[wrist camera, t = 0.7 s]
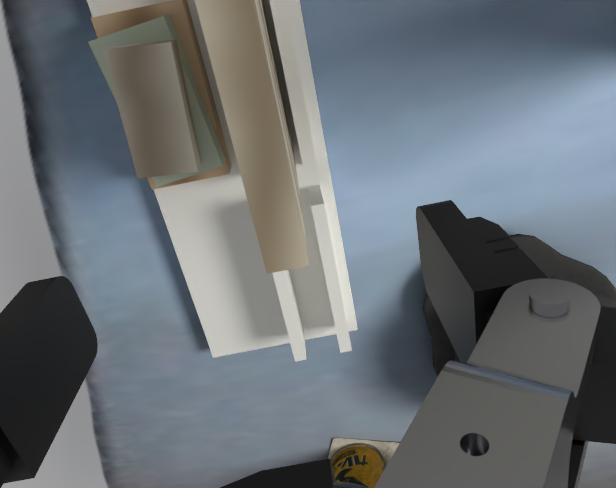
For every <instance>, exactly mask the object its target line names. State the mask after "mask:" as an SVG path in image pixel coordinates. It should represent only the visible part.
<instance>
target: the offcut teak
mask: <svg viewBox="0 0 616 488" xmlns="http://www.w3.org/2000/svg"><path fill="white" fill-rule="evenodd" d="M166 15H170V18H171V20H172V23H173V25H174V28H175V30H176V33H177V35H178V38H179V41H180V43H181V46H182V48H183V51H184V53H185V56H186V58H187V61H188V64H189V66H190V69H191V71H192V74H193V76H194V79H195V82H196V84H197V87H198V89H199V92H200V94H201V97H202V99H203V102H204V105H205V107H206V110H207V112H208V115H209V117H210V120H211V122H212V125H213V128H214V130H215V133H216V135H217V138H218V140H219V143H220V145H221V148H222V151H223V153H224V156H225V160H224V164H223V166H221V167H218V168H215V169H212V170H209V171H206V172H202V173H199V174H196V175H193V176H190V177H186V178H183V179H180V180H177V181H174V182H171V183H167V184H164V185H161V186H158V187H156V185H155V183H154V181H153V179H152V177H148V181H149V184H150V186H151V189H152V190H153V189H158V188H163V187H168V186H173V185H178V184H183V183H188V182H193V181H198V180H203V179H207V178H212V177H217V176H222V175H227V174H230V170H231V166H232V165H231V162H230V158H229V154H228V151H227V147H226V143H225V140H224V136H223V132H222V128H221V125H220V121H219V117H218V114H217V110H216V106H215V103H214V99H213V95H212V92H211V88H210V84H209V80H208V77H207V73H206V69H205V66H204V62H203V58H202V55H201V51H200V47H199V43H198V40H197V36H196V32H195V29H194V25H193V21H192V18H191V14H190V10H189V7H188V3H187V0H172V1H167V2H162V3H158V4H153V5H148V6H144V7H139V8H134V9H129V10H125V11H120V12H115V13H111V14H106V15H101V16H97V17H92V18H91V21H92V23H93V26H94V29H95V32H96V35H97V38H100V37H103V36H106V35H109V34H112V33H115V32H118V31H121V30H124V29H127V28H130V27H133V26H136V25H139V24H141V23H144V22H147V21H150V20H153V19H156V18H159V17H162V16H166Z"/></svg>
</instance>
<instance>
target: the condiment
mask: <svg viewBox="0 0 616 488" xmlns="http://www.w3.org/2000/svg"><path fill="white" fill-rule="evenodd" d="M398 445H399V443H396V442H379V441H371V440H357V439H343V438H335V439H333V440H332V444H331V448H330V452H329V456H328V459H330V460H331V464H332V468H333V472H334V476H335V480H336V481H337V482H348V483H353V484H358V485H363V486H367V487H370V488H374V487H375V485H376V483H377V482H378V480H379V478H380V477H381V475H382V473H383V471H384V470H385V468H386V466H387V464H388V463H389V461H390V459H391V457H392V456H393V454H394V452H395V450H396V449H397V447H398ZM381 452H383V454H382V453H381ZM384 454H386V455H384Z"/></svg>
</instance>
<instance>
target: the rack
mask: <svg viewBox="0 0 616 488" xmlns="http://www.w3.org/2000/svg"><path fill="white" fill-rule="evenodd" d="M167 1H172V0H87V3H88V6H89V8H90V11H91V14H92V17H97V16H101V15H106V14H111V13H115V12H120V11H125V10H129V9H134V8H139V7H144V6H148V5H153V4H158V3H162V2H167ZM262 1H263V6H264V11H265V16H266V20H267V25H268V30H269V35H270V40H271V44H272V49H273V54H274V59H275V64H276V69H277V73H278V78H279V83H280V88H281V93H282V97H283V102H284V107H285V112H286V117H287V121H288V126H289V131H290V136H291V141H292V146H293V150H294V156H295V164H296V171H297V178H298V185H299V193H300V200H301V207H302V215H303V222H304V229H305V237H306V244H307V251H308V258H309V266H305V267H300V268H295V269H289V270H284V271H279V272H274V273H269V274H267V272H266V269H265V265H264V261H263V257H262V253H261V250H260V246H259V242H258V238H257V234H256V231H255V227H254V223H253V219H252V216H251V212H250V208H249V204H248V200H247V197H246V193H245V189H244V185H243V181H242V178H241V174H240V170H239V166H238V163H237V159H236V155H235V151H234V147H233V144H232V140H231V136H230V132H229V128H228V125H227V121H226V117H225V113H224V110H223V106H222V102H221V98H220V94H219V91H218V87H217V83H216V79H215V75H214V72H213V68H212V64H211V60H210V57H209V53H208V49H207V45H206V41H205V38H204V34H203V30H202V26H201V22H200V19H199V15H198V11H197V7H196V3H195V0H187V3H188V7H189V10H190V14H191V18H192V21H193V25H194V29H195V32H196V36H197V40H198V43H199V47H200V51H201V55H202V58H203V62H204V66H205V69H206V73H207V77H208V80H209V84H210V88H211V92H212V95H213V99H214V103H215V106H216V110H217V114H218V117H219V121H220V125H221V128H222V132H223V136H224V140H225V143H226V147H227V151H228V154H229V158H230V162H231V165H232V166H231V170H230V174H227V175H222V176H217V177H212V178H207V179H203V180H198V181H193V182H188V183H183V184H178V185H173V186H168V187H163V188H158V189H154V192H155V195H156V198H157V200H158V203H159V206H160V209H161V212H162V215H163V217H164V220H165V223H166V226H167V229H168V232H169V234H170V237H171V240H172V243H173V246H174V248H175V251H176V254H177V257H178V260H179V263H180V265H181V268H182V271H183V274H184V277H185V280H186V282H187V285H188V288H189V291H190V294H191V297H192V299H193V302H194V305H195V308H196V311H197V313H198V316H199V319H200V322H201V325H202V328H203V330H204V333H205V336H206V339H207V342H208V345H209V347H210V350H211V353H212V356H213V358H214V357H219V356H224V355H229V354H235V353H240V352H245V351H250V350H255V349H260V348H266V347H271V346H276V345H281V344H286V343H291V347H292V351H293V355H294V359H295V361H301V360H306V349H305V340H307V339H312V338H317V337H323V336H328V335H333V334H337V338H338V343H339V348H340V353H342V352H348V351H352V349H351V343H350V338H349V333H348V332H349V331H354V330H358V328H357V322H356V317H355V311H354V305H353V300H352V294H351V288H350V283H349V277H348V271H347V266H346V260H345V254H344V249H343V243H342V237H341V232H340V226H339V220H338V215H337V209H336V203H335V198H334V192H333V186H332V181H331V175H330V169H329V164H328V158H327V153H326V147H325V141H324V136H323V130H322V124H321V119H320V113H319V107H318V102H317V96H316V90H315V85H314V79H313V73H312V68H311V62H310V56H309V51H308V45H307V39H306V34H305V28H304V22H303V17H302V11H301V5H300V0H262Z"/></svg>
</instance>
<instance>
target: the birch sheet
mask: <svg viewBox="0 0 616 488" xmlns="http://www.w3.org/2000/svg"><path fill="white" fill-rule="evenodd" d="M195 3H196V7H197V11H198V15H199V19H200V22H201V26H202V30H203V34H204V38H205V41H206V45H207V49H208V53H209V57H210V60H211V64H212V68H213V72H214V75H215V79H216V83H217V87H218V91H219V94H220V98H221V102H222V106H223V110H224V113H225V117H226V121H227V125H228V128H229V132H230V136H231V140H232V144H233V147H234V151H235V155H236V159H237V163H238V166H239V170H240V174H241V178H242V181H243V185H244V189H245V193H246V197H247V200H248V204H249V208H250V212H251V216H252V219H253V223H254V227H255V231H256V234H257V238H258V242H259V246H260V250H261V253H262V257H263V261H264V265H265V269H266V272H267V274H269V273H274V272H279V271H284V270H289V269H295V268H300V267H305V266H309V258H308V251H307V244H306V237H305V229H304V222H303V215H302V207H301V200H300V193H299V185H298V178H297V171H296V164H295V156H294V150H293V146H292V141H291V136H290V131H289V126H288V121H287V117H286V112H285V107H284V102H283V97H282V93H281V88H280V83H279V78H278V73H277V69H276V64H275V59H274V54H273V49H272V44H271V40H270V35H269V30H268V25H267V20H266V16H265V11H264V6H263V1H262V0H195Z"/></svg>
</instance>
